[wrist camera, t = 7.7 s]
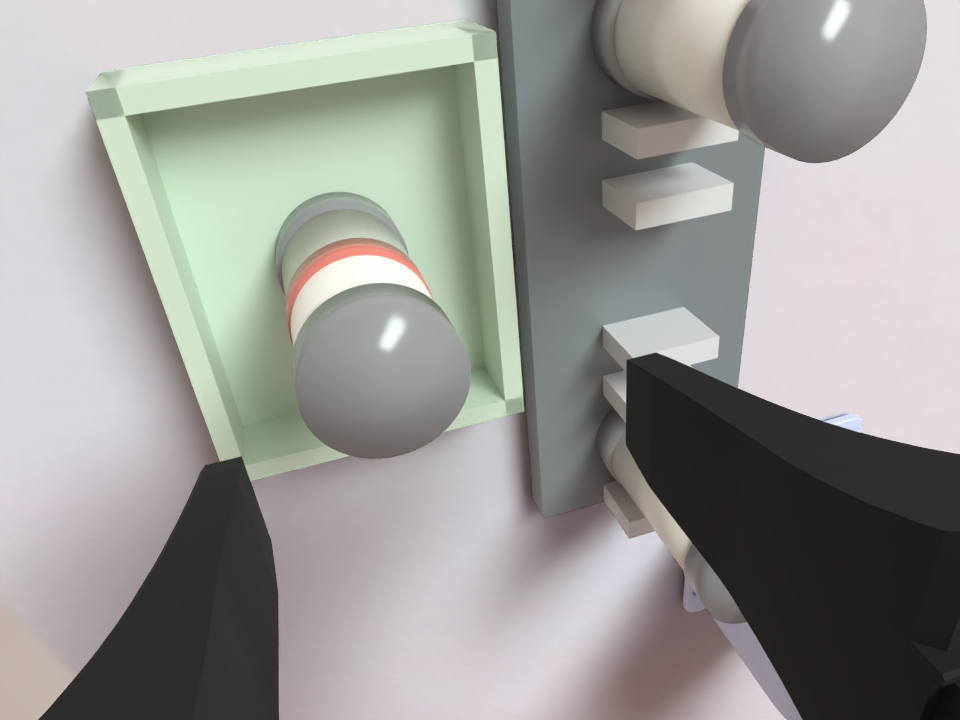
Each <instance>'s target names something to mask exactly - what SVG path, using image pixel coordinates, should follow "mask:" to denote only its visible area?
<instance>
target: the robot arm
mask: <svg viewBox="0 0 960 720" xmlns="http://www.w3.org/2000/svg"><path fill="white" fill-rule="evenodd" d="M862 425H863V421H862V419H861V418H860V417H859V416H857V415H856V414H848V415H845V416H841V417H838V418H834V419H830V420H827V421H820V420H817V419H814V418H812V417H809V416H806V415H803V414H800V413H798V412H795V411H792V410H790V409H787V408H785V407H782V406H779V405H777V404H774V403H771V402H769V401H767V400H764V399H762V398H759V397H757V396H754V395H752V394H750V393H747V392H745V391H743V390H740V389H738V388H736V387H734V386H731V385H729V384H727V383H725V382H722V381H720V380H718V379H716V378H714V377H711V376H709V375H707V374H705V373H703V372H700V371H698V370H696V369H694V368H692V367H689V366H687V365H685V364H683V363H681V362H678V361H676V360H674V359H671V358H669V357H666V356H664V355H661V354H659V353H656V352H655V353H651V354H647V355H643V356H640V357H636V358H632V359H628V360H627V361H626V446H627V448H628V450H629V452H630V453H631V455H632V457H633V459H634V461H635V463H636V464H637V466H638V468H639V470H640V472H641V473H642V475H643V477H644V478H645V480H646V482H647V484H648V485H649V487H650V488H651V490H652V491H653V492H654V494H655V495H656V496H657V498H658V499H659V500H660V502H661V503H662V504H663V506H664V507H665V508H666V510H667V511H668V512H669V514H670V515H671V516H672V517H673V519H674V520H675V521H676V523H677V524H678V525H679V527H680V528H681V529H682V530H683V532H684V533H685V534H686V536H687V537H688V538H689V540H690V541H691V542H692V543H693V545H694V546H695V547H696V549H697V550H698V551H699V552H700V554H701V555H702V556H703V558H704V559H705V560H706V562H707V563H708V564H709V565H710V567H711V568H712V569H713V571H714V572H715V573H716V575H717V576H718V578H719V579H720V580H721V582H722V583H723V585H724V586H725V588H726V589H727V590H728V592H729V593H730V595H731V597H732V598H733V600H734V602H735V603H736V605H737V606H738V608H739V610H740V611H741V613H742V615H743V616H744V618H745V620H746V621H747V622H745V623H738V624H728V623H723V622H720V621H718V620H716V619H714V618H713V617H712V618H713V619H714V620H715V622H716V623H717V625H718V626H719V628H720V629H721V630H722V632H723V633H724V635H725V636H726V638H727V639H728V640H729V642H730V643H731V645H732V646H733V648H734V649H735V650H736V652H737V653H738V655H739V656H740V658H741V659H742V660H743V662H744V663H745V665H746V666H747V668H748V669H749V670H750V672H751V673H752V675H753V676H754V677H755V679H756V680H757V682H758V683H759V685H760V686H761V687H762V689H763V690H764V692H765V693H766V695H767V696H768V697H769V699H770V700H771V702H772V703H773V705H774V706H775V707H776V708H777V709H778V711H779V712H780V713H781V714H782V715H783V716H784V717H785V718H786V719H787V720H960V454H955V453H949V452H944V451H938V450H933V449H928V448H922V447H918V446H913V445H909V444H905V443H900V442H896V441H891V440H887V439H883V438H879V437H875V436H871V435H867V434H863V433H861V430H862ZM683 607H684V608H685V609H686V611H687V612H689V613H695V612H698V611H701V610H704V609H706V608H705V607H704V605H703V604H702V602H701V601H700V599H699V598H698V597H697V595H696V594H695V592H694V591H693V590H692V588H691V587H690V585H689V584H688V582H687V581H686V578H685V581H684V593H683ZM39 720H279V687H278V589H277V581H276V573H275V565H274V558H273V550H272V543H271V539H270V536H269V534H268V531H267V528H266V525H265V522H264V519H263V516H262V513H261V510H260V508H259V505H258V502H257V499H256V496H255V493H254V490H253V487H252V484H251V482H250V479H249V476H248V473H247V470H246V467H245V464H244V461H243V459H242V456H240V457H236V458H232V459H228V460H224V461H221V462H217V463H213V464H209V465H205V467H204V468H203V469H202V471H201V472H200V475H199V477H198V479H197V481H196V484H195V486H194V488H193V490H192V492H191V495H190V497H189V499H188V501H187V503H186V505H185V507H184V509H183V511H182V514H181V516H180V518H179V520H178V522H177V524H176V526H175V527H174V529H173V531H172V533H171V535H170V537H169V539H168V541H167V543H166V544H165V546H164V548H163V550H162V552H161V554H160V556H159V557H158V559H157V561H156V563H155V564H154V566H153V568H152V569H151V571H150V573H149V574H148V576H147V578H146V579H145V581H144V583H143V584H142V586H141V587H140V589H139V591H138V592H137V594H136V596H135V597H134V599H133V601H132V602H131V604H130V605H129V607H128V608H127V610H126V611H125V613H124V614H123V616H122V617H121V619H120V620H119V621H118V623H117V624H116V626H115V627H114V629H113V630H112V631H111V633H110V634H109V635H108V637H107V638H106V640H105V641H104V642H103V644H102V645H101V646H100V648H99V649H98V650H97V652H96V653H95V654H94V656H93V657H92V658H91V659H90V661H89V662H88V663H87V664H86V666H85V667H84V668H83V669H82V670H81V671H80V673H79V674H78V675H77V676H76V677H75V678H74V680H73V681H72V682H71V683H70V684H69V686H68V687H67V688H66V689H65V690H64V692H63V693H62V694H61V695H60V696H59V697H58V698H57V700H56V701H55V702H54V703H53V704H52V705H51V707H50V708H49V709H48V710H47V711H46V712H45V713H44V714H43V715H42V717H40V718H39Z"/></svg>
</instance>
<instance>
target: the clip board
mask: <svg viewBox="0 0 960 720" xmlns="http://www.w3.org/2000/svg"><path fill="white" fill-rule="evenodd" d="M596 1H597V0H496V5H497V18H498V32H499V46H500V59H501V73H502V86H503V100H504V114H505V127H506V141H507V155H508V168H509V182H510V196H511V209H512V223H513V237H514V250H515V264H516V277H517V291H518V305H519V318H520V332H521V346H522V359H523V373H524V387H525V400H526V414H527V428H528V441H529V455H530V469H531V482H532V496H533V500H534V502H535V504H536V506H537V508H538V510H539V512H540V513H541V515H542V517H543V519H545V518H549V517H552V516H556V515H559V514H563V513H566V512H570V511H573V510H577V509H580V508H584V507H587V506H591V505H594V504H597V503H601V502H604V501H605V503H606V504H607V506H608V507H609V509H610V510H611V512H612V513H613V515H614V516H615V518H616V519H617V521H618V523H619V524H620V526H621V527H622V529H623V530H624V532H625V533H626V535H627V536H628V538H629V539H630V538H633V537H637V536H640V535H643V534H647V533H650V532H653V531H655V530H654V529H653V527H652V526H651V524H650V523H649V522H648V520H647V519H646V517H645V516H644V515H643V513H642V512H641V510H640V509H639V508H638V506H637V505H636V503H635V502H634V500H633V499H632V498H631V496H630V495H629V493H628V492H627V491H626V489H625V488H624V486H622V485H620V484H619V483H618V482H617V481H616V480H615V478H614V477H613V476H612V474H611V473H610V471H609V470H608V469H607V467H606V466H605V464H604V463H603V461H602V460H601V459H600V457H599V455H598V453H597V449H596V437H597V432H598V429H599V427H600V425H601V423H602V421H603V419H604V418H605V416H606V415H607V414H608V413H609V412H610V411H611V410H612V408H614V409H615V410H616V411H617V413H618V414H619V415H620V416H621V418H622V419H623V420H624V421H625V423H626V361H627V360H628V359H632V358H636V357H640V356H643V355H647V354H651V353H655V352H656V353H659V354H661V355H664V356H666V357H669V358H671V359H674V360H676V361H678V362H681V363H683V364H685V365H687V366H689V367H692V368H694V369H696V370H698V371H700V372H703V373H705V374H707V375H709V376H711V377H714V378H716V379H718V380H720V381H722V382H725V383H727V384H729V385H731V386H734V387H736V388H738V381H739V372H740V363H741V354H742V345H743V337H744V328H745V319H746V310H747V301H748V292H749V283H750V275H751V266H752V257H753V248H754V239H755V230H756V222H757V213H758V204H759V195H760V186H761V177H762V169H763V160H764V151H765V147H764V146H761V145H759V144H756V143H754V142H753V141H751V140H749V139H748V138H746V137H745V136H744V135H743V134H742V133H741V132H740V131H738V130H735V129H733V128H730V127H728V126H726V125H723V124H721V123H718V122H716V121H713V120H711V119H708V118H706V117H703V116H701V115H698V114H696V113H693V112H691V111H688V110H686V109H683V108H681V107H678V106H676V105H673V104H671V103H668V102H666V101H656V100H651V99H647V98H645V97H642V96H640V95H637V94H635V93H633V92H630V91H628V90H625V89H623V88H621V87H619V86H617V85H616V84H614V83H613V82H612V81H611V80H609V79H608V77H607V76H606V75H605V74H604V73H603V71H602V70H601V68H600V66H599V64H598V62H597V60H596V57H595V54H594V51H593V46H592V39H591V23H592V16H593V11H594V7H595V4H596Z"/></svg>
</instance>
